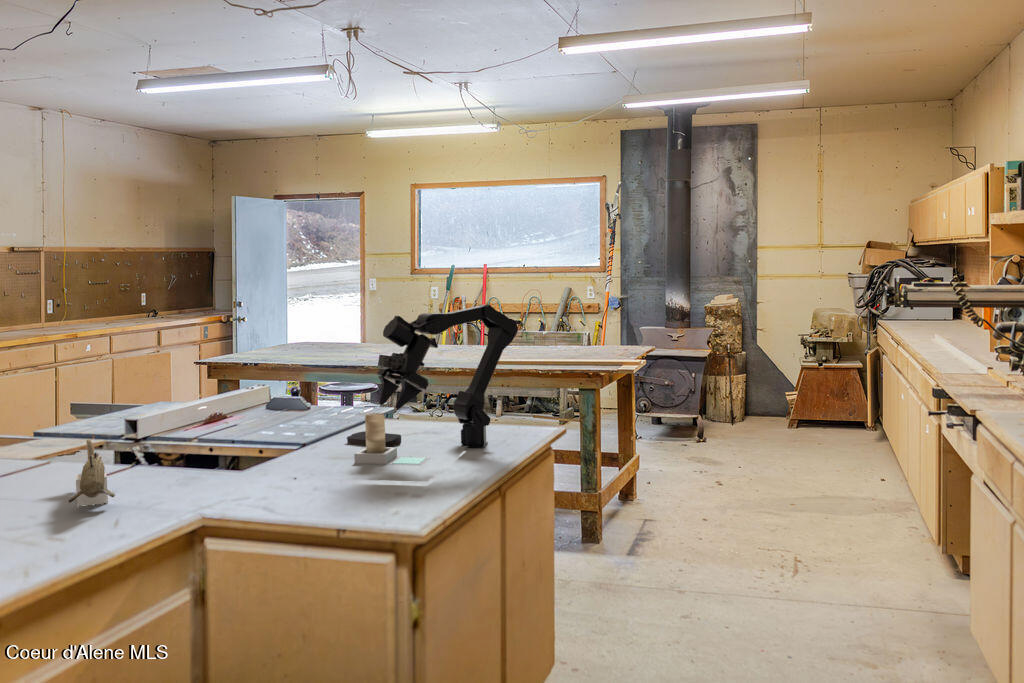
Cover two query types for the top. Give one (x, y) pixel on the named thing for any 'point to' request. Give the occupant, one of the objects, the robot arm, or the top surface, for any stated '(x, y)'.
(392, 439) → the black sponge
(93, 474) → the wood carving
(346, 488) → the top surface
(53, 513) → the top surface
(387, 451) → the jig board
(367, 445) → the maple post
